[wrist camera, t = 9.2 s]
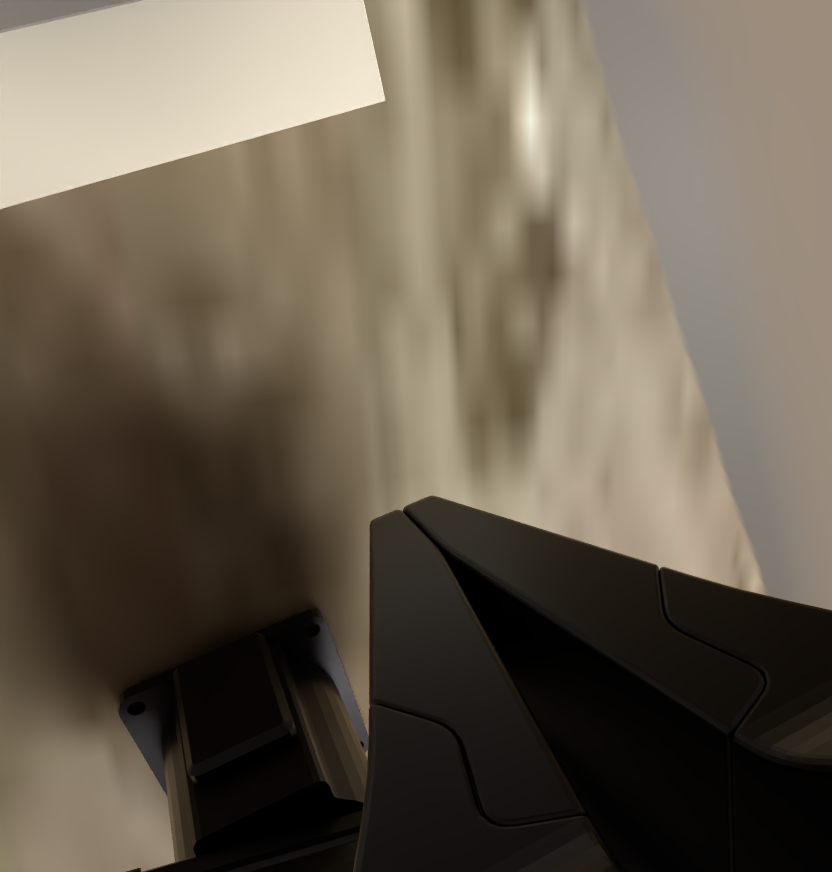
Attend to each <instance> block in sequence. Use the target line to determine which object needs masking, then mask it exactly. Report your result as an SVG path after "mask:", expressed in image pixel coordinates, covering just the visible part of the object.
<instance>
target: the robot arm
mask: <svg viewBox="0 0 832 872" xmlns="http://www.w3.org/2000/svg"><path fill="white" fill-rule="evenodd" d="M310 624H316V625H315V627H313V628H312V629H309V630H306V629H305V628H306V627H307V626H308V625H310ZM137 701H139V702H143V703H142V704H140V705H138V706H130V704H132V703H133V702H137ZM369 704H370V708H369V736H368V734H367V731H366V728H365V725H364V723H363V720H362V717H361V715H360V712H359V709H358V706H357V704H356V701H355V698H354V696H353V693H352V690H351V687H350V685H349V682H348V679H347V677H346V674H345V671H344V668H343V666H342V663H341V660H340V658H339V655H338V652H337V649H336V647H335V644H334V641H333V639H332V636H331V633H330V630H329V628H328V625H327V623H326V620H325V618H324V616H323V615H322V613H321V612H319V611H317V610H307V611H304V612H301V613H299V614H297V615H294V616H292V617H290V618H288V619H285V620H283V621H281V622H278V623H276V624H274V625H272V626H269V627H267V628H265V629H262V630H260V631H258V632H256V633H253V634H251V635H249V636H246V637H244V638H242V639H239V640H237V641H235V642H233V643H230V644H228V645H226V646H223V647H221V648H219V649H217V650H214V651H212V652H210V653H207V654H205V655H203V656H201V657H198V658H196V659H194V660H191V661H189V662H187V663H185V664H182V665H180V666H178V667H175V668H173V669H171V670H169V671H166V672H164V673H162V674H159V675H157V676H155V677H153V678H150V679H148V680H146V681H143V682H141V683H139V684H137V685H134V686H132V687H130V688H128V689H126V690H125V691H123V692H122V694H121V695H120V696H119V699H118V711H119V715H120V717H121V719H122V721H123V722H124V724H125V726H126V727H127V729H128V731H129V732H130V734H131V736H132V737H133V739H134V741H135V743H136V744H137V746H138V748H139V749H140V751H141V753H142V754H143V756H144V758H145V759H146V761H147V763H148V764H149V766H150V768H151V770H152V771H153V773H154V775H155V776H156V778H157V780H158V781H159V783H160V785H161V786H162V788H163V790H164V791H165V793H166V795H167V796H168V805H169V813H170V822H171V830H172V839H173V847H174V856H175V863H171V864H168V865H164V866H161V867H157V868H154V869H150V870H147V871H143V872H832V610H828V609H823V608H819V607H814V606H810V605H805V604H800V603H796V602H791V601H787V600H783V599H779V598H775V597H771V596H766V595H762V594H758V593H754V592H750V591H746V590H741V589H737V588H734V587H730V586H727V585H723V584H720V583H716V582H713V581H709V580H706V579H702V578H699V577H695V576H692V575H689V574H685V573H682V572H679V571H676V570H672V569H669V568H666V567H662V568H660V570H659V568H658V566H657V565H656V564H652V563H649V562H646V561H643V560H639V559H636V558H633V557H630V556H627V555H623V554H620V553H617V552H614V551H610V550H607V549H604V548H601V547H598V546H594V545H591V544H588V543H585V542H581V541H578V540H575V539H572V538H569V537H565V536H562V535H559V534H556V533H552V532H549V531H546V530H543V529H540V528H536V527H533V526H530V525H527V524H523V523H520V522H517V521H514V520H510V519H507V518H504V517H501V516H498V515H494V514H491V513H488V512H485V511H481V510H478V509H475V508H472V507H469V506H465V505H462V504H459V503H456V502H452V501H449V500H446V499H443V498H440V497H436V496H428V497H426V498H424V499H421V500H419V501H417V502H414V503H412V504H409V505H407V506H405V507H404V509H403V511H401V510H395V511H393V512H390V513H388V514H385V515H383V516H381V517H378V518H376V519H374V520H372V521H371V523H370V634H369ZM367 750H368V760H367V757H366V755H365V752H366V751H367ZM127 872H141V868H138V869H134V870H131V871H127Z"/></svg>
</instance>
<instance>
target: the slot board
mask: <svg viewBox="0 0 832 872" xmlns="http://www.w3.org/2000/svg"><path fill="white" fill-rule="evenodd" d="M383 101H385V96H384V92H383V87H382V83H381V78H380V74H379V69H378V65H377V60H376V55H375V51H374V46H373V42H372V37H371V33H370V28H369V24H368V19H367V15H366V10H365V5H364V1H363V0H0V209H2V208H6V207H9V206H13V205H16V204H20V203H23V202H27V201H31V200H34V199H38V198H41V197H45V196H48V195H52V194H55V193H59V192H63V191H66V190H70V189H73V188H77V187H80V186H84V185H87V184H91V183H95V182H98V181H102V180H105V179H109V178H112V177H116V176H119V175H123V174H127V173H130V172H134V171H137V170H141V169H144V168H148V167H152V166H155V165H159V164H162V163H166V162H169V161H173V160H176V159H180V158H184V157H187V156H191V155H194V154H198V153H201V152H205V151H208V150H212V149H216V148H219V147H223V146H226V145H230V144H233V143H237V142H240V141H244V140H248V139H251V138H255V137H258V136H262V135H265V134H269V133H272V132H276V131H280V130H283V129H287V128H290V127H294V126H297V125H301V124H304V123H308V122H312V121H315V120H319V119H322V118H326V117H329V116H333V115H337V114H340V113H344V112H347V111H351V110H354V109H358V108H361V107H365V106H369V105H372V104H376V103H379V102H383Z"/></svg>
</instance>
